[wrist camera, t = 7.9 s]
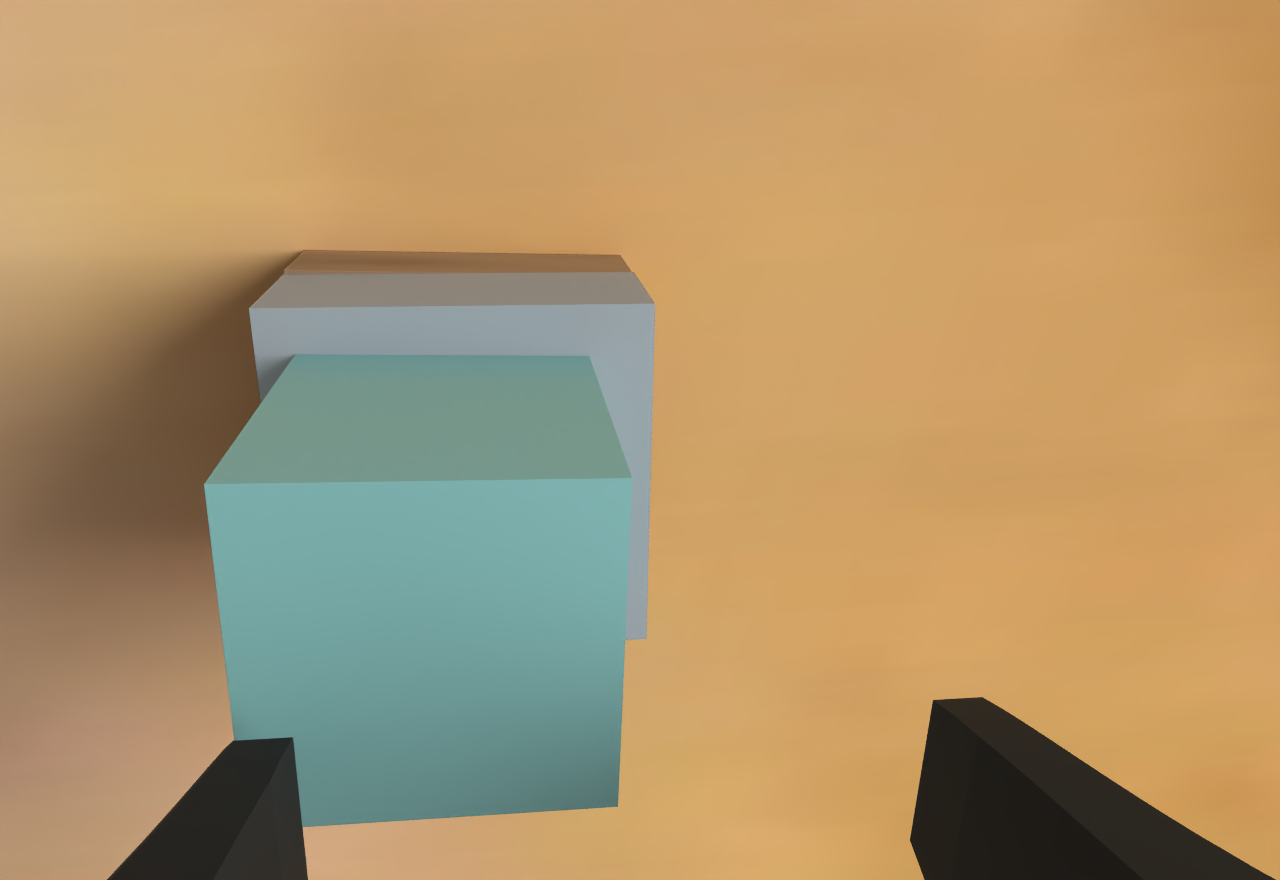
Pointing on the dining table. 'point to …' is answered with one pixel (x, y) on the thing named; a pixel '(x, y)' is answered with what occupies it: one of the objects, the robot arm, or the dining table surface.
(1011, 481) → the dining table surface
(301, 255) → the walnut base slab
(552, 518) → the teal block
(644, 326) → the slate top slab
